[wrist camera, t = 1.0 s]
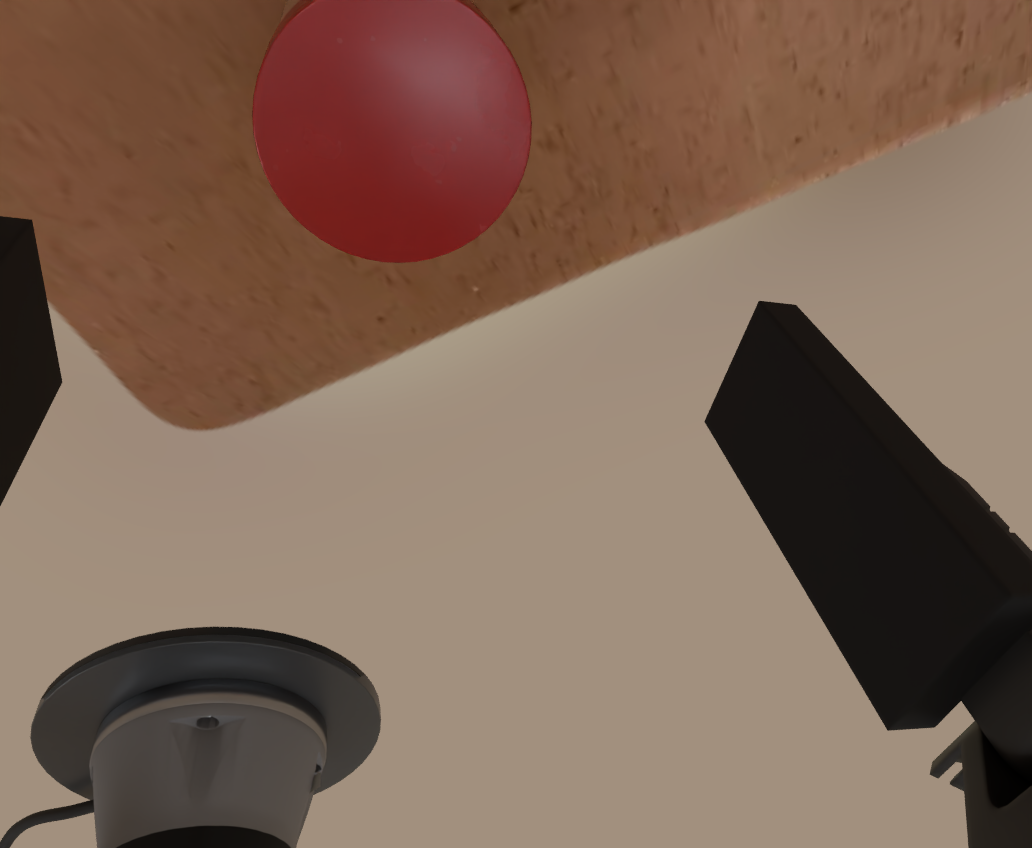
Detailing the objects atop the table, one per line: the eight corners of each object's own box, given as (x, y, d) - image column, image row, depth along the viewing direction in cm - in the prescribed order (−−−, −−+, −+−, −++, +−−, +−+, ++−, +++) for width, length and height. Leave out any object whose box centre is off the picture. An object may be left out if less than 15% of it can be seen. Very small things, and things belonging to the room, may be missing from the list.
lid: (374, 281, 25) (376, 308, 23) (196, 87, 20) (185, 107, 19) (565, 145, 23) (579, 166, 22) (417, -100, 18) (422, -94, 17)
